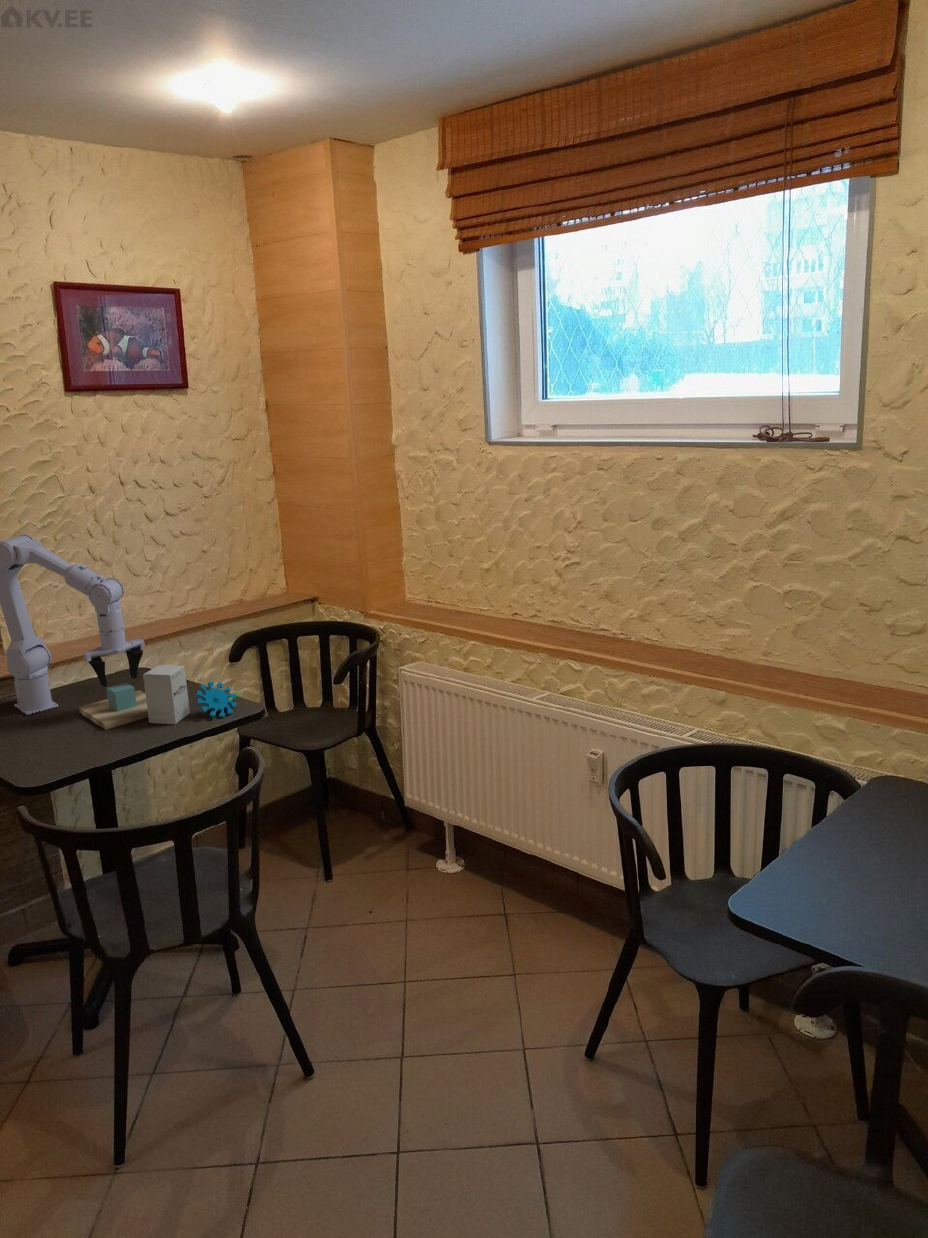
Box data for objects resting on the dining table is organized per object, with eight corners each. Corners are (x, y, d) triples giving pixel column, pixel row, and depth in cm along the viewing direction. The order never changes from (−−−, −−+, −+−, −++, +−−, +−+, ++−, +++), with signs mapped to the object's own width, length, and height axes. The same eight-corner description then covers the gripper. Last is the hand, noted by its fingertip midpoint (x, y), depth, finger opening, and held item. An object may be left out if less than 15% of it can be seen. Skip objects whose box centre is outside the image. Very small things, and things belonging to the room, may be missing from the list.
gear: (204, 718, 224) (192, 682, 228) (196, 729, 228) (185, 694, 232) (246, 711, 231) (234, 677, 235) (238, 723, 235) (226, 689, 239)
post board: (79, 712, 235) (76, 694, 233) (140, 695, 245) (137, 677, 244) (105, 729, 223) (102, 710, 222) (168, 710, 234) (165, 692, 232)
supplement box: (176, 725, 225) (169, 675, 221) (148, 723, 226) (141, 674, 223) (191, 713, 232) (185, 665, 228) (164, 712, 233) (157, 664, 230)
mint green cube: (109, 706, 234) (106, 687, 232) (128, 701, 237) (125, 682, 236) (117, 711, 230) (114, 692, 229) (137, 706, 234) (134, 687, 232)
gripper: (88, 639, 221) (96, 693, 224) (147, 625, 230) (154, 677, 234) (76, 633, 226) (85, 686, 229) (134, 620, 235) (141, 671, 239)
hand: (119, 681), depth 232 cm, fingers open, 7 cm apart
